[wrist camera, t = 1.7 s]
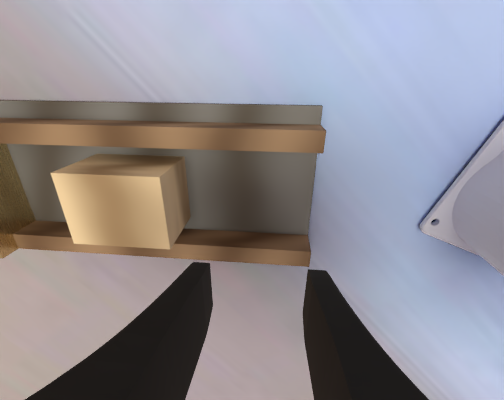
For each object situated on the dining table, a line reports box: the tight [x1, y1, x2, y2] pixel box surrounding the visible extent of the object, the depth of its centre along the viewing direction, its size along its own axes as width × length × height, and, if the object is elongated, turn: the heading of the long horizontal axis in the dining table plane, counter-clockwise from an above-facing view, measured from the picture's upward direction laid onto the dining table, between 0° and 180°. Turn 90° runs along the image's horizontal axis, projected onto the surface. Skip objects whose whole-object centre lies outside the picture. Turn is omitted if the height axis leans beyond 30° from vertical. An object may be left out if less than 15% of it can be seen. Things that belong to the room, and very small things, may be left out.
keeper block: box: [51, 154, 191, 249], centre depth 16 cm, size 6×4×4 cm
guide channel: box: [0, 100, 326, 267], centre depth 18 cm, size 22×11×2 cm, turn 90°
